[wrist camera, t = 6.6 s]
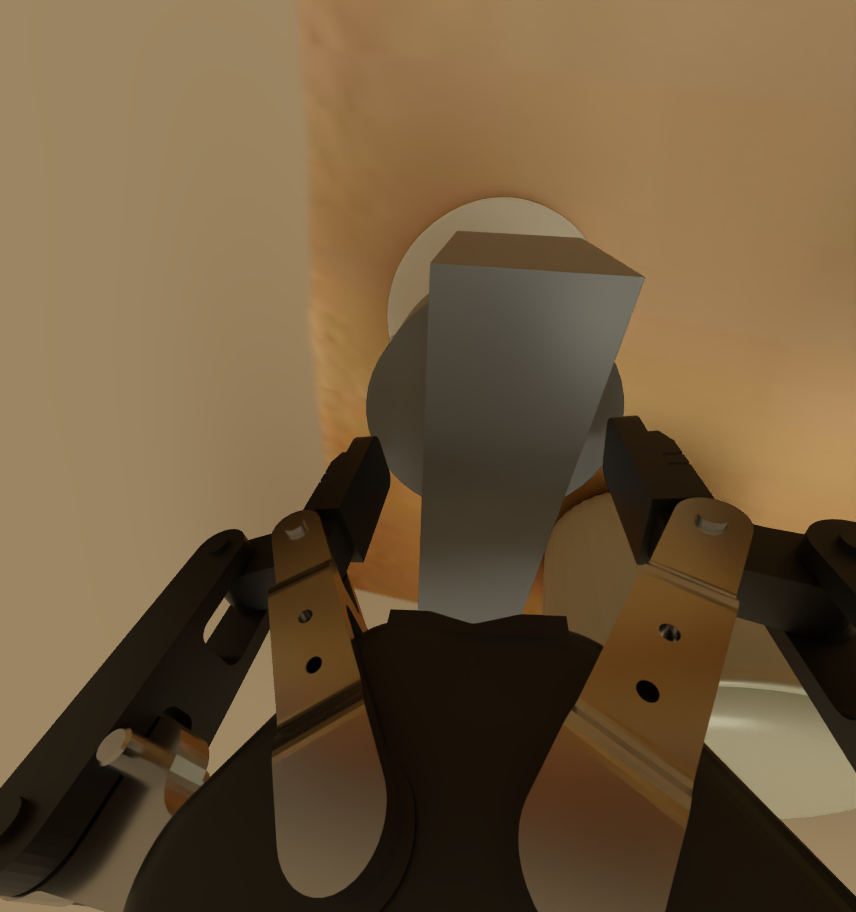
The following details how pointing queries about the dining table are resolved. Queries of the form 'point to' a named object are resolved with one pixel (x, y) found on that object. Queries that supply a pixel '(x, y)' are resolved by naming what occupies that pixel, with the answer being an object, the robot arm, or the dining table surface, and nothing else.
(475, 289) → the twist cap
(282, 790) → the robot arm
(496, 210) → the post base
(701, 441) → the dining table surface
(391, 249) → the dining table surface
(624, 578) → the canister
